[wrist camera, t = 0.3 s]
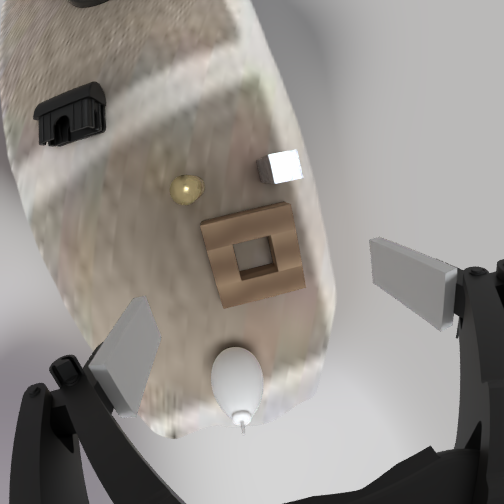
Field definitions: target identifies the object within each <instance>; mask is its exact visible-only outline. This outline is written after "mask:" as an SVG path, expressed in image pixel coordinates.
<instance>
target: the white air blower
mask: <svg viewBox="0 0 504 504" xmlns="http://www.w3.org/2000/svg"><path fill="white" fill-rule="evenodd" d="M211 384H212V389H213V393H214V396H215V398H216V400H217V402H218V404H219V406H220V408H221V409H222V410H223V412H224V413H225V414H226V415H227V416H228V417H229V418H231V419H232V422H233V423H234V424H236V425H241V429H242V433H243V435H245V425H247V424H249V423H250V422H251V420H252V416H253V415H254V414H255V413H256V411H257V409H258V407H259V405H260V402H261V399H262V394H263V386H264V383H263V374H262V370H261V367H260V364H259V362H258V361H257V359H256V357H255V356H254V355H253V354H252V353H251V352H249V351H248V350H246V349H244V348H241V347H231V348H227V349H225V350H223V351H222V352H221V353H220V354H219V355H218V356H217V357H216V359H215V361H214V363H213V367H212V372H211Z"/></svg>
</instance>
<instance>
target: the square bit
mask: <svg viewBox="0 0 504 504" xmlns="http://www.w3.org/2000/svg"><path fill="white" fill-rule="evenodd" d="M256 161H257V166H258V170H259V175H260V179H261V182H262V183H273V184H276V183H281V182H286V181H290V180H295V179H300V178H303V175H302V170H301V165H300V161H299V156H298V152H297V150H291V151H285V152H280V153H275V154H269V155H267V156H265V157H263V158H261V159H258V160H256Z"/></svg>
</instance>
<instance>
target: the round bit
mask: <svg viewBox="0 0 504 504" xmlns="http://www.w3.org/2000/svg"><path fill="white" fill-rule="evenodd" d="M204 189H205V185H204V182H203V180H202V179H201V178H199V177H197V176H191V175H181V176H179V177H177V178H175V179H174V180H173V182H172V183H171V186H170V195H171V197H172V199H173V200H174V201H175V202H176V203H178V204H180V205H189V204H191V203H193V202H194V201H195V200H197V199H198V198H199V197H200V196H201V195H202V194H203V192H204Z"/></svg>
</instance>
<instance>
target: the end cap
mask: <svg viewBox="0 0 504 504" xmlns="http://www.w3.org/2000/svg"><path fill="white" fill-rule="evenodd" d="M105 106H106V101H105V96H104V92H103V89H102V87H101V86H100V84H99V83H97V82H91V83H88V84H85V85H83V86H80V87H77V88H75V89H72V90H70V91H67V92H65V93H62V94H60V95H58V96H55V97H53V98H51V99H49V100H46V101H44V102H42V103H40V104H39V105H38V106H37V107H36V109H35V111H34V115H33V119H34V120H38V121H39V145H46V142H48V144H49V146H52V147H54V146H63V145H66V144H69V143H71V142H74V141H77V140H80V139H84V138H87V137H90V136H93V135H96V134H100V133H103V132H105V130H106V121H105Z"/></svg>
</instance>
